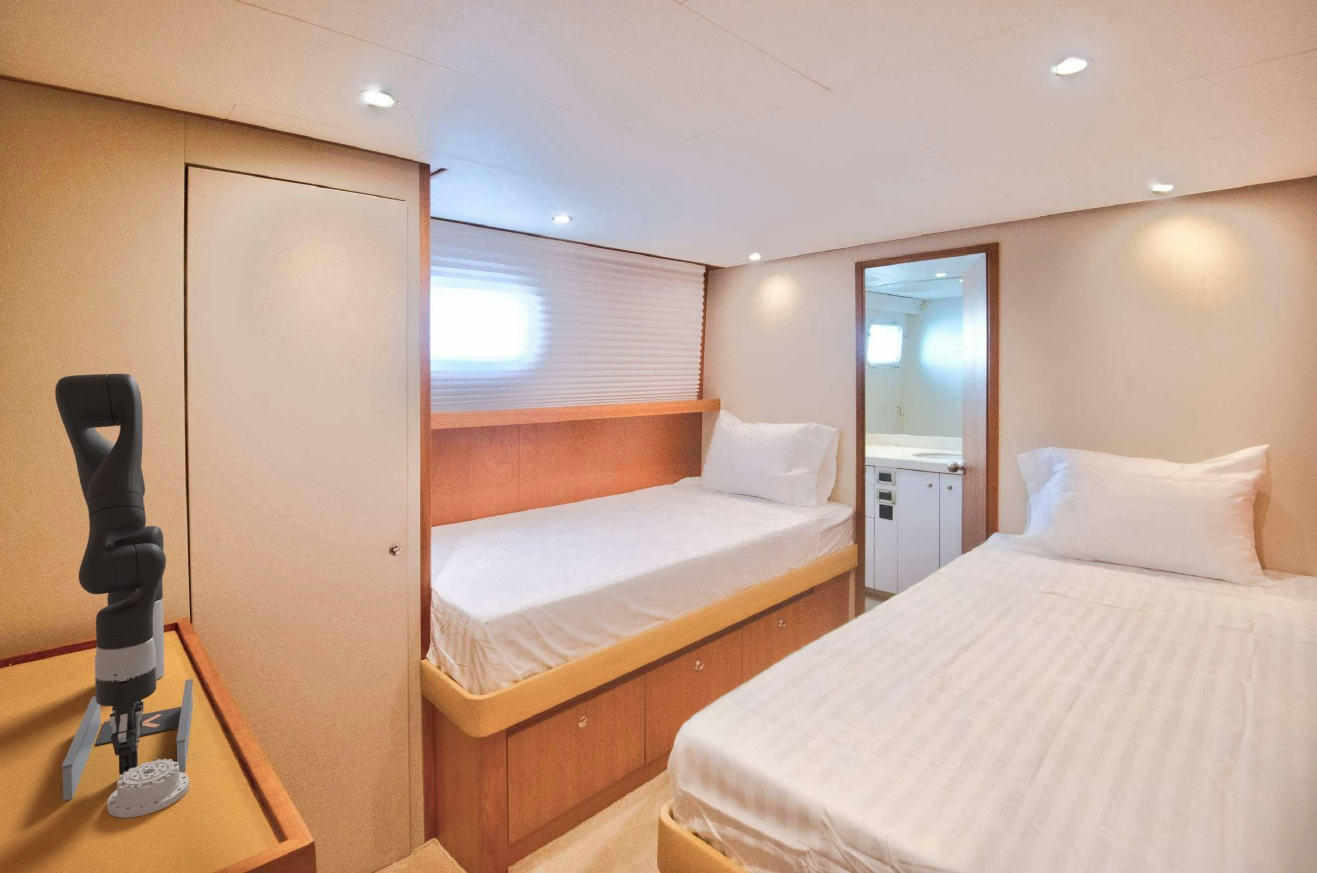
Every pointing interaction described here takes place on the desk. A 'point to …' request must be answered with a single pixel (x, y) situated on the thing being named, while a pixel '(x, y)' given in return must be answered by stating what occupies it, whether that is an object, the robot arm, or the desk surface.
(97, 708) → the plastic channel
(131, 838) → the desk surface
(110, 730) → the pad
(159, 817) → the desk surface
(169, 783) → the mechanical component
